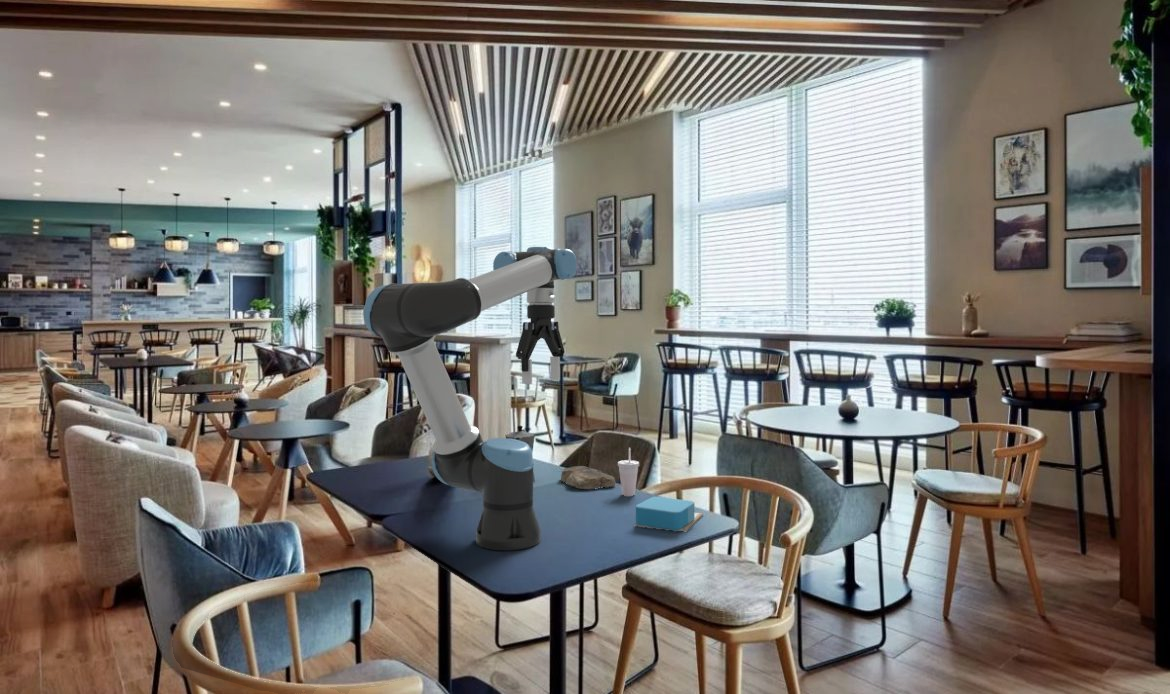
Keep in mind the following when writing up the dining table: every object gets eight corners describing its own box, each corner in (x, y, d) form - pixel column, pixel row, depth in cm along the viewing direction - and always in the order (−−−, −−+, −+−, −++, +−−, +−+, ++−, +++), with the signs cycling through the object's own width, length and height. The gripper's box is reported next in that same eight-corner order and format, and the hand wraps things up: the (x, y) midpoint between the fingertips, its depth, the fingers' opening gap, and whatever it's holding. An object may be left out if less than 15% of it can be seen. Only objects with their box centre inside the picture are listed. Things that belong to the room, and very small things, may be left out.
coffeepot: (532, 486, 223) (532, 428, 223) (502, 486, 224) (501, 428, 223) (538, 475, 239) (537, 421, 238) (509, 475, 239) (509, 421, 238)
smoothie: (627, 498, 208) (626, 450, 208) (613, 494, 213) (613, 447, 213) (643, 495, 212) (643, 447, 211) (629, 491, 217) (629, 444, 217)
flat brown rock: (552, 479, 235) (575, 491, 217) (552, 464, 235) (575, 475, 217) (592, 476, 241) (617, 488, 222) (592, 461, 241) (618, 472, 222)
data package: (696, 518, 185) (653, 512, 191) (696, 501, 184) (653, 495, 190) (678, 531, 174) (633, 524, 180) (678, 512, 174) (633, 506, 180)
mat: (685, 532, 176) (685, 529, 176) (635, 526, 181) (635, 523, 181) (703, 515, 190) (703, 513, 190) (656, 510, 195) (656, 507, 195)
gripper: (525, 303, 185) (526, 386, 186) (576, 304, 206) (577, 378, 207) (501, 303, 189) (502, 385, 190) (554, 304, 210) (555, 377, 211)
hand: (541, 381), depth 198 cm, fingers open, 13 cm apart
